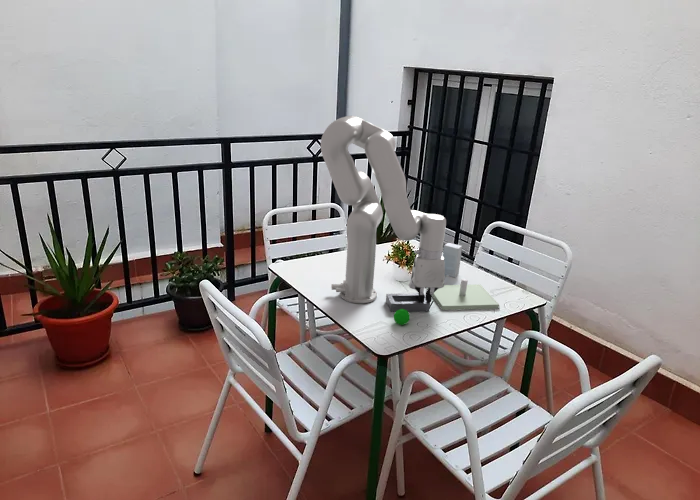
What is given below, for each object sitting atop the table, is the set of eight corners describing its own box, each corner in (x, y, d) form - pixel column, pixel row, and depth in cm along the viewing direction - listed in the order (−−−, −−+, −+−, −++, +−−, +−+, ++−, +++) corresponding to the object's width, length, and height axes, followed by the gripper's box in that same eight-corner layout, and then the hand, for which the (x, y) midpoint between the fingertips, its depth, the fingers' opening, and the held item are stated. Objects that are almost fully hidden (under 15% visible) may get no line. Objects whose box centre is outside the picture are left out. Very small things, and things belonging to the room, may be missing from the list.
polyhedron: (408, 320, 155) (409, 306, 153) (410, 327, 150) (411, 314, 149) (392, 319, 155) (393, 306, 153) (394, 327, 150) (395, 313, 148)
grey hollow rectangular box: (390, 312, 159) (391, 304, 158) (385, 301, 166) (386, 293, 165) (429, 311, 161) (430, 303, 160) (422, 301, 168) (423, 293, 167)
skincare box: (458, 274, 192) (462, 245, 187) (454, 278, 188) (458, 248, 184) (444, 270, 195) (447, 242, 190) (440, 274, 191) (443, 245, 187)
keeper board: (442, 310, 162) (444, 290, 160) (427, 289, 177) (429, 271, 175) (498, 308, 166) (501, 289, 163) (479, 288, 181) (482, 270, 178)
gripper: (409, 257, 153) (404, 309, 159) (457, 256, 155) (450, 308, 162) (403, 248, 160) (398, 299, 166) (449, 248, 162) (442, 298, 169)
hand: (424, 303), depth 164 cm, fingers closed on grey hollow rectangular box, 1 cm apart
